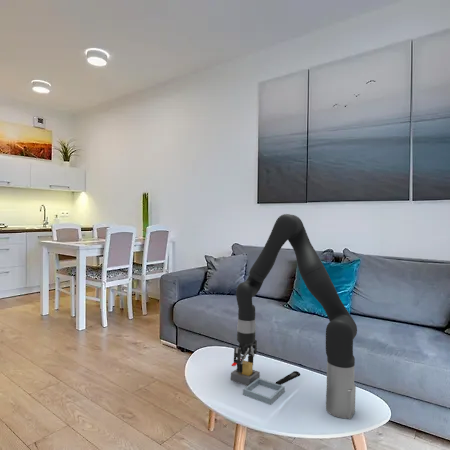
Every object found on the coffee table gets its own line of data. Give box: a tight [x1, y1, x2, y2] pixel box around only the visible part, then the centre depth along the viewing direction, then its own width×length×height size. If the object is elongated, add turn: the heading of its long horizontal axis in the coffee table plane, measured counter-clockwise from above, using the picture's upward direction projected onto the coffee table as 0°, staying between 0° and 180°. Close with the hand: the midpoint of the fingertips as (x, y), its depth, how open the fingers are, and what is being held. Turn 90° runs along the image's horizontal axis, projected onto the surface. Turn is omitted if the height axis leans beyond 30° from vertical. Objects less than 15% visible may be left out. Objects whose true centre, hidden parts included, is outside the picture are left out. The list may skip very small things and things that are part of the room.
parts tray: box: [242, 378, 286, 406], centre depth 128 cm, size 12×12×4 cm
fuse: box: [240, 359, 254, 377], centre depth 138 cm, size 5×3×7 cm, turn 55°
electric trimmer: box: [274, 370, 301, 385], centre depth 140 cm, size 4×16×3 cm, turn 134°
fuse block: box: [230, 368, 261, 387], centre depth 139 cm, size 9×8×4 cm
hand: (245, 368), depth 139 cm, fingers open, 8 cm apart
